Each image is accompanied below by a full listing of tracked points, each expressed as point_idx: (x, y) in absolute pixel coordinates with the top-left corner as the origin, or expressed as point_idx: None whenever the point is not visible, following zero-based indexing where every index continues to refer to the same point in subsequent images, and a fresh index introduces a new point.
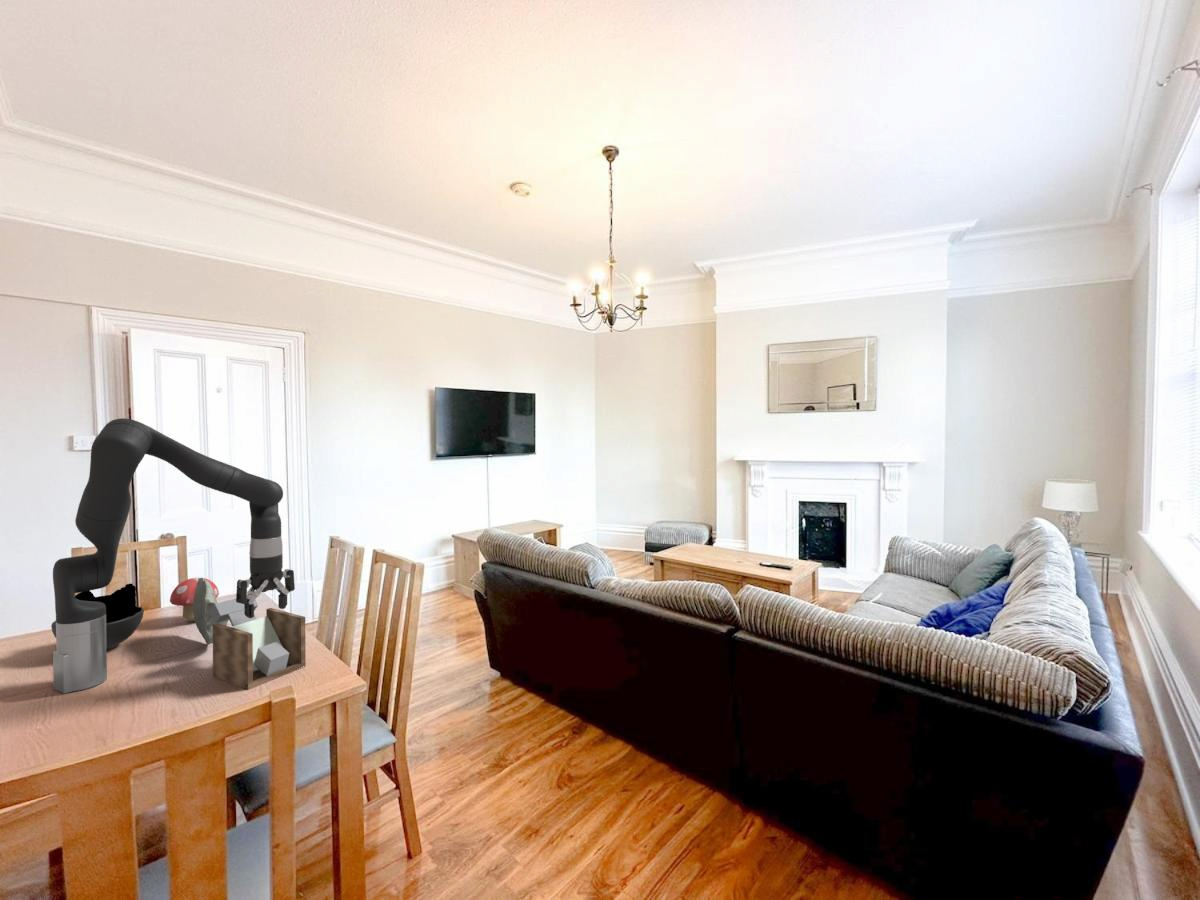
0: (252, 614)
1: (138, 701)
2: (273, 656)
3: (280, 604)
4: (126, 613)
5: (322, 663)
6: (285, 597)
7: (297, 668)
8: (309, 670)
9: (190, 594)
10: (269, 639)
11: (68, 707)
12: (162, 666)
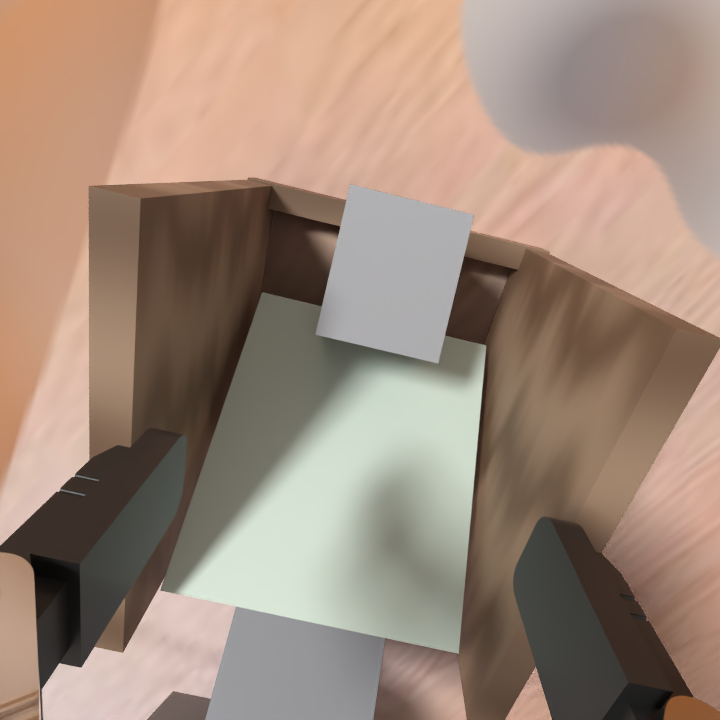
0: (580, 544)
1: (671, 551)
2: (439, 229)
3: (161, 508)
4: None
5: (191, 111)
6: (63, 523)
7: (298, 188)
8: (285, 113)
9: None
10: (268, 430)
11: (713, 679)
12: (422, 677)
